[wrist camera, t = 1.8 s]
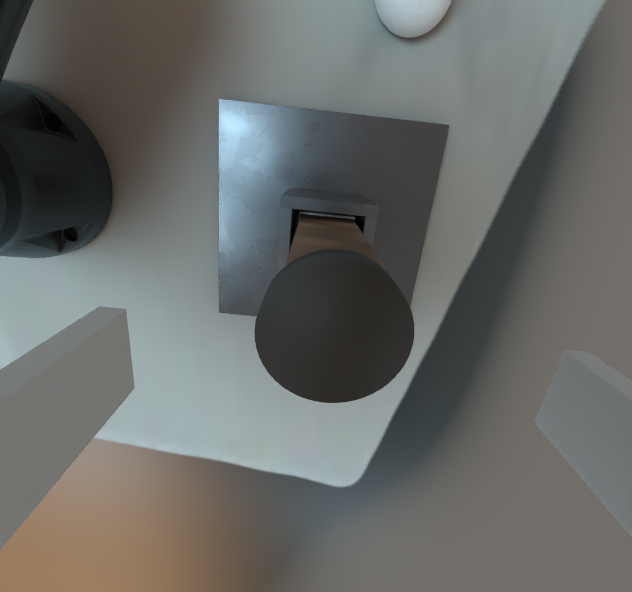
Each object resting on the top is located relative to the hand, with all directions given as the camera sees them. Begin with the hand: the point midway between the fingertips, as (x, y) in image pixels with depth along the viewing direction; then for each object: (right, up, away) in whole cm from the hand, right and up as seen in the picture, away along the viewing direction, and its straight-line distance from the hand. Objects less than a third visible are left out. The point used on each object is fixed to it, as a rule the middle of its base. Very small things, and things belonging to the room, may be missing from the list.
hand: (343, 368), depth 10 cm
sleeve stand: (0, +9, +24) cm, 25 cm away
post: (0, +8, +22) cm, 23 cm away
